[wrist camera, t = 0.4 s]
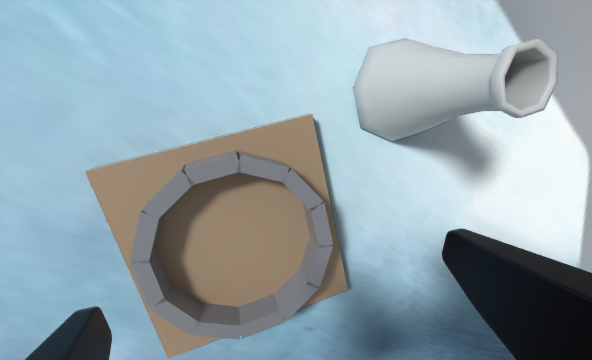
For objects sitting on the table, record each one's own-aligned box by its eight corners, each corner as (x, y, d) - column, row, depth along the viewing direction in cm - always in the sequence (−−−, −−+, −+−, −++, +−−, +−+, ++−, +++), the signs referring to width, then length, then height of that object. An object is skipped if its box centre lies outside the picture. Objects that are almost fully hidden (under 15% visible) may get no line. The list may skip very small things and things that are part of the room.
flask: (445, 45, 22) (614, -2, 13) (429, 142, 24) (570, 165, 14) (356, 32, 20) (478, -34, 11) (346, 139, 22) (444, 162, 12)
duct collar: (343, 282, 25) (359, 305, 22) (170, 347, 22) (163, 382, 19) (307, 114, 21) (322, 114, 18) (92, 168, 18) (68, 179, 15)
